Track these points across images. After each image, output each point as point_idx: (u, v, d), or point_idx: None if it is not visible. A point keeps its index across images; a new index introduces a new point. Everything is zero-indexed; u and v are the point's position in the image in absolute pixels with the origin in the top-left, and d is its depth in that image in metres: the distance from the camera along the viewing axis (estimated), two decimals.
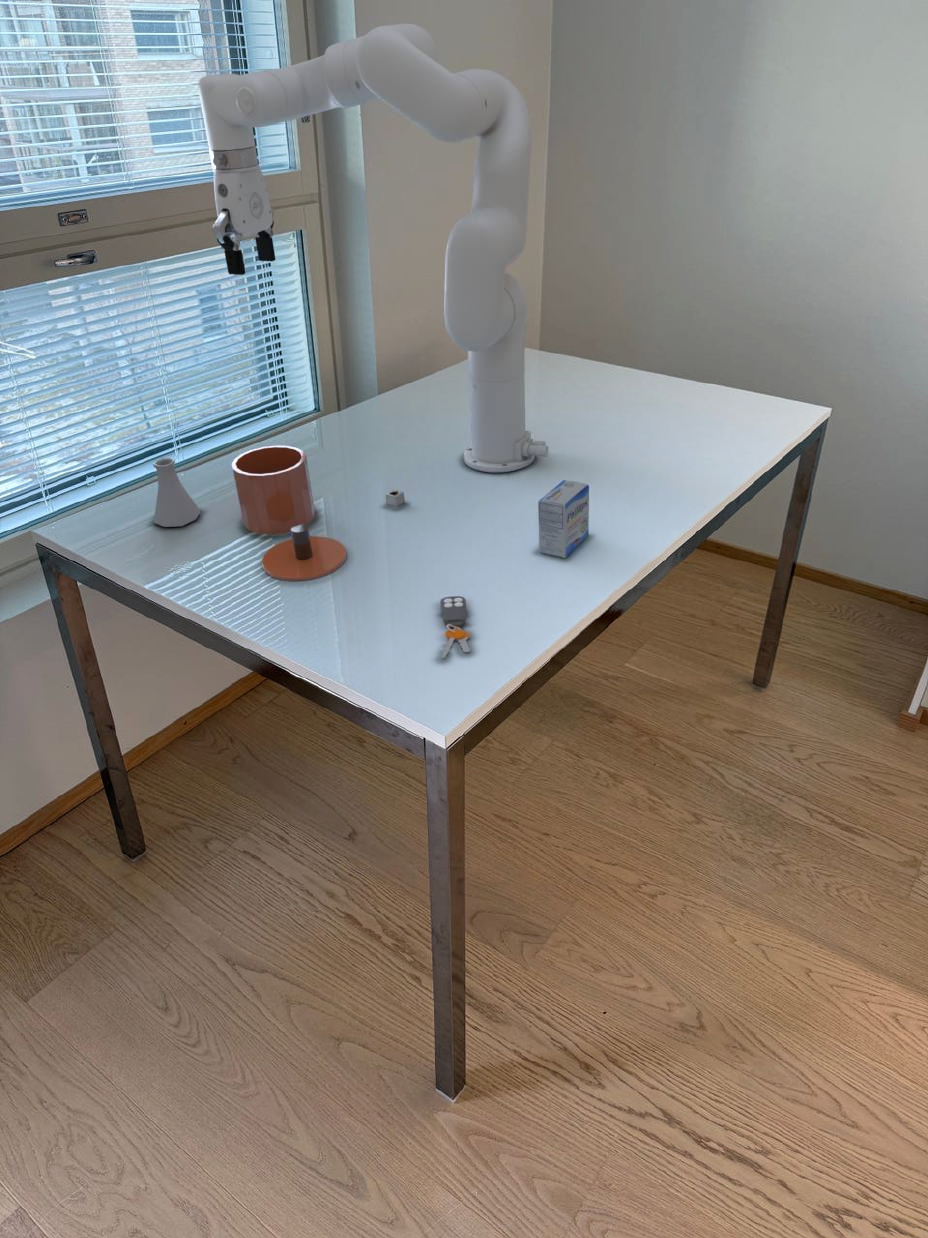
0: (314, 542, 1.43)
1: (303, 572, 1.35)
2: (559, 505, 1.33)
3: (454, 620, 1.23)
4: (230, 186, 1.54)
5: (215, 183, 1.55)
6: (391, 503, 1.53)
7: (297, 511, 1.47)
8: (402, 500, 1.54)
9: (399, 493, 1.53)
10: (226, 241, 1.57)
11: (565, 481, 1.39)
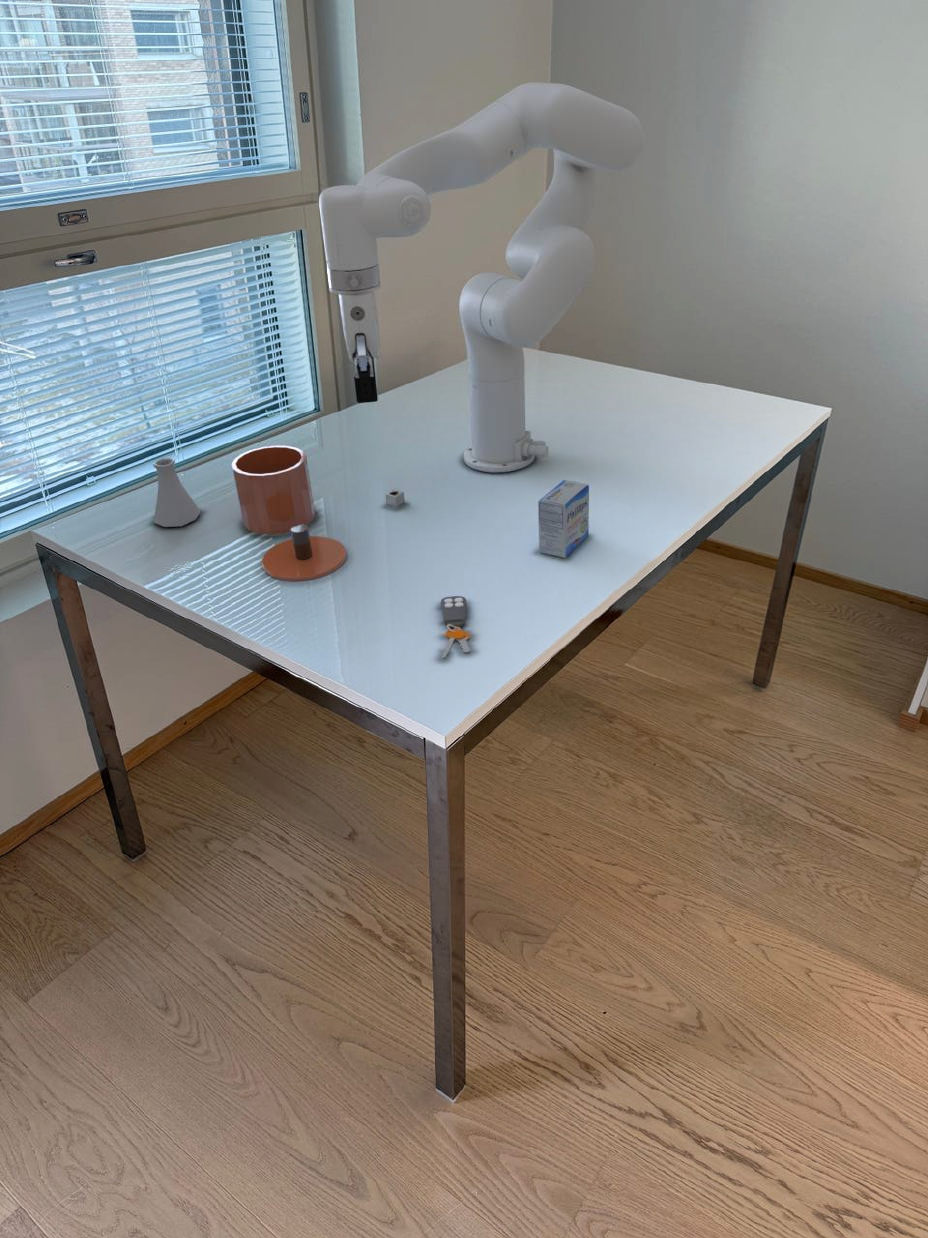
0: (314, 542, 1.43)
1: (303, 572, 1.35)
2: (559, 505, 1.33)
3: (454, 620, 1.23)
4: (368, 307, 1.37)
5: (347, 306, 1.37)
6: (391, 503, 1.53)
7: (297, 511, 1.47)
8: (402, 500, 1.54)
9: (399, 493, 1.53)
10: (369, 368, 1.39)
11: (565, 481, 1.39)
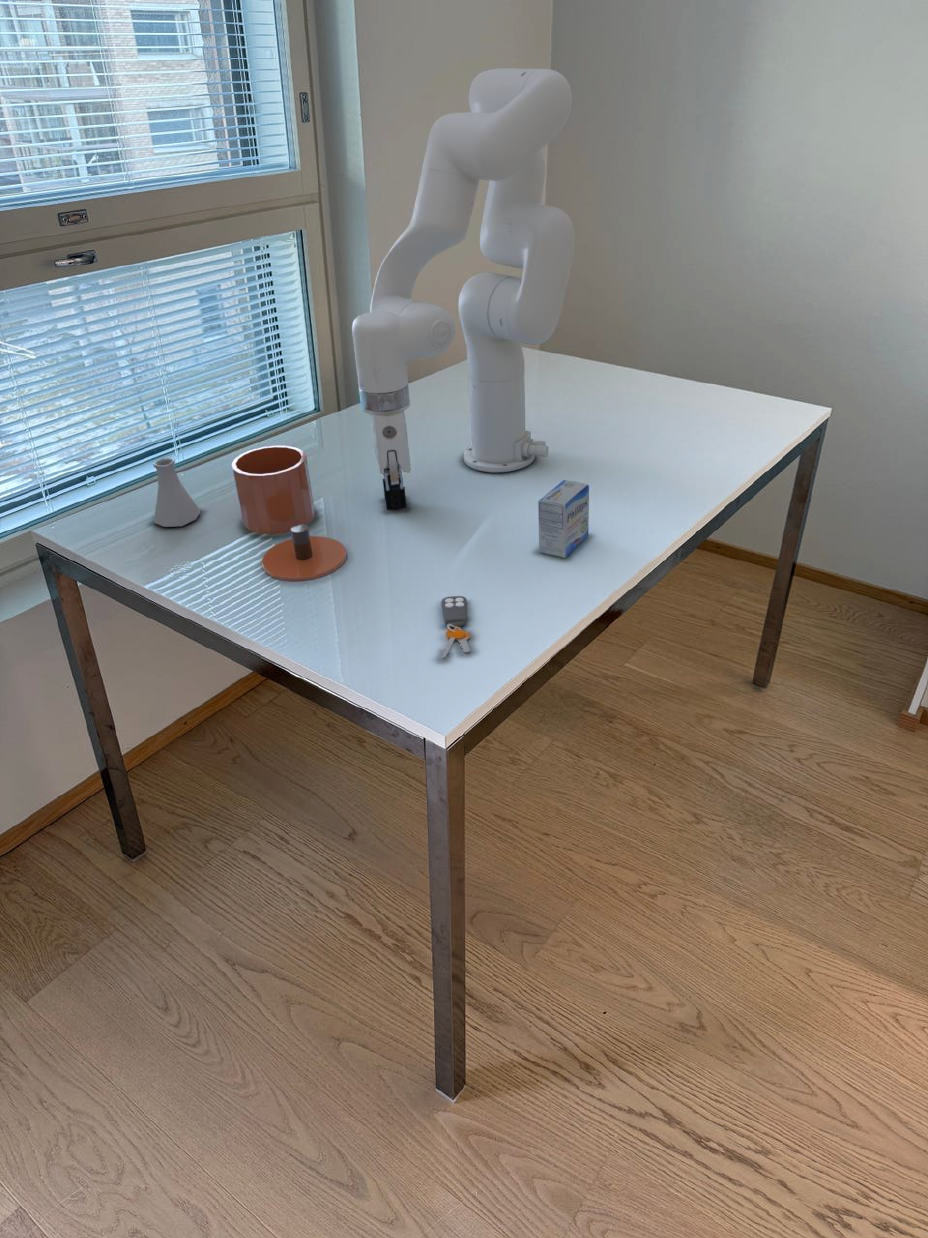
0: (314, 542, 1.43)
1: (303, 572, 1.35)
2: (559, 505, 1.33)
3: (455, 620, 1.23)
4: (399, 427, 1.43)
5: (379, 426, 1.42)
6: None
7: (297, 511, 1.47)
8: None
9: None
10: (400, 483, 1.48)
11: (565, 481, 1.39)
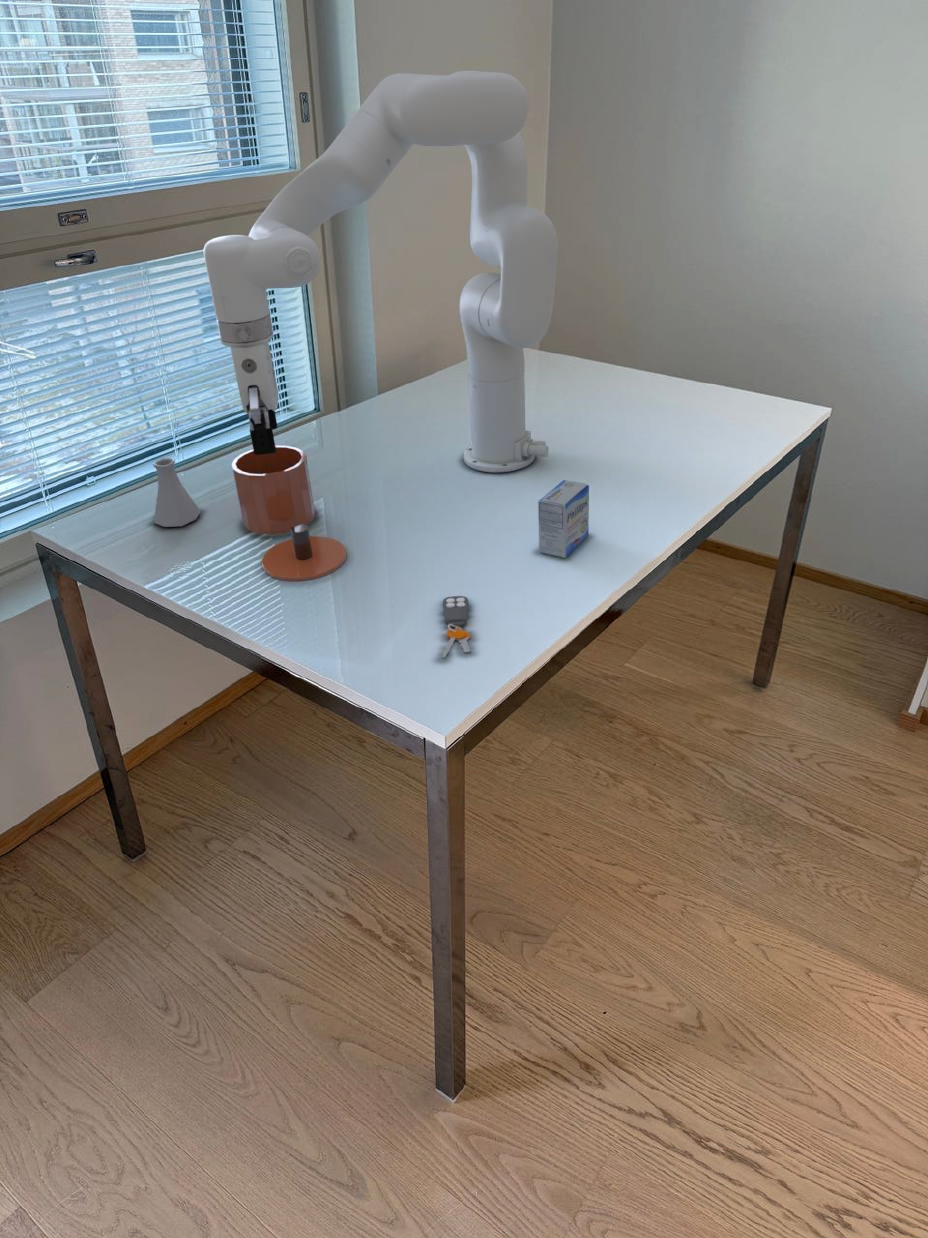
0: (314, 542, 1.43)
1: (303, 572, 1.35)
2: (559, 505, 1.33)
3: (456, 620, 1.23)
4: (260, 360, 1.34)
5: (237, 359, 1.33)
6: None
7: (297, 511, 1.47)
8: None
9: None
10: (263, 421, 1.36)
11: (565, 481, 1.39)
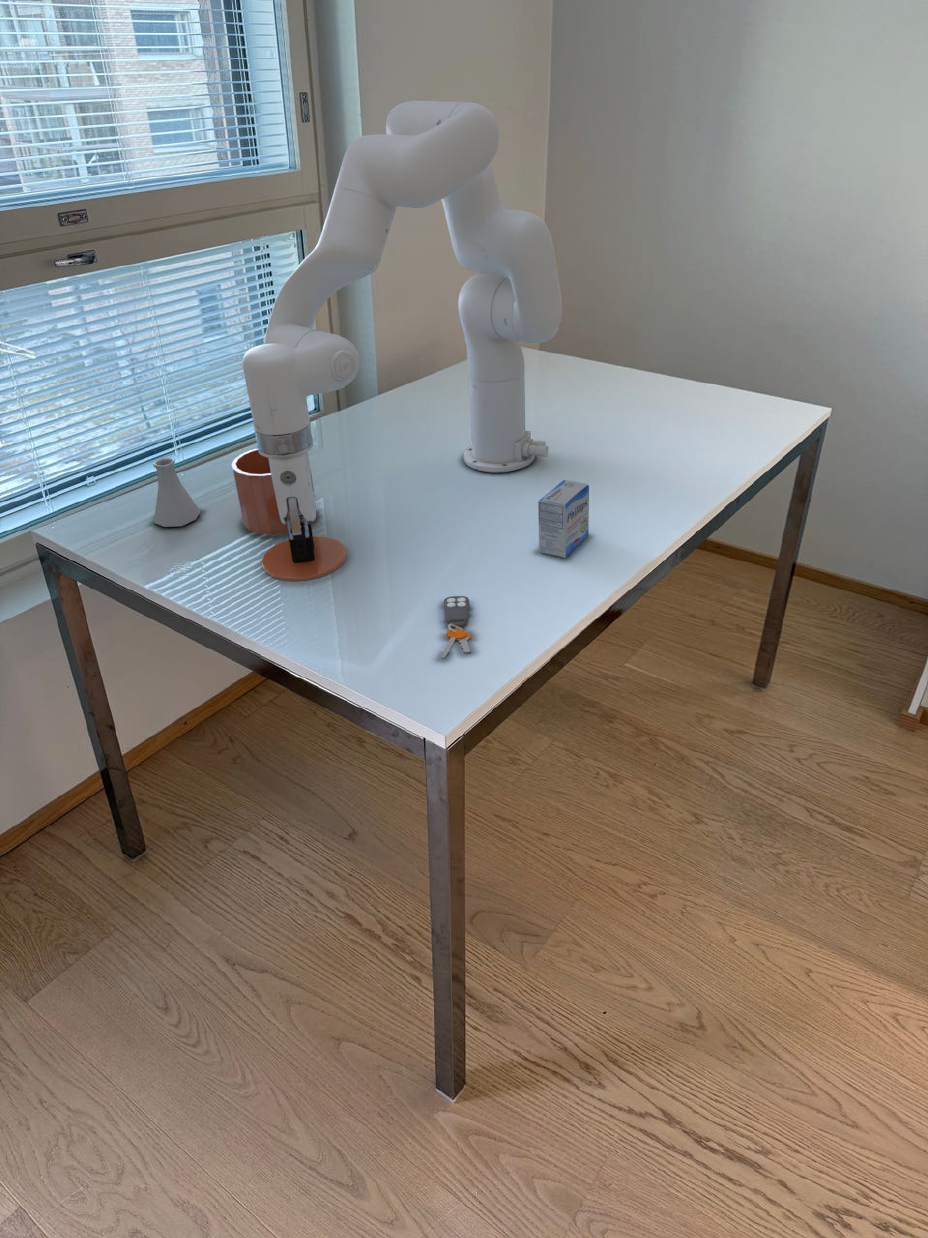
0: (314, 542, 1.43)
1: (303, 572, 1.35)
2: (559, 505, 1.33)
3: (456, 620, 1.23)
4: (299, 472, 1.27)
5: (276, 471, 1.27)
6: None
7: None
8: None
9: None
10: (303, 532, 1.33)
11: (565, 481, 1.39)
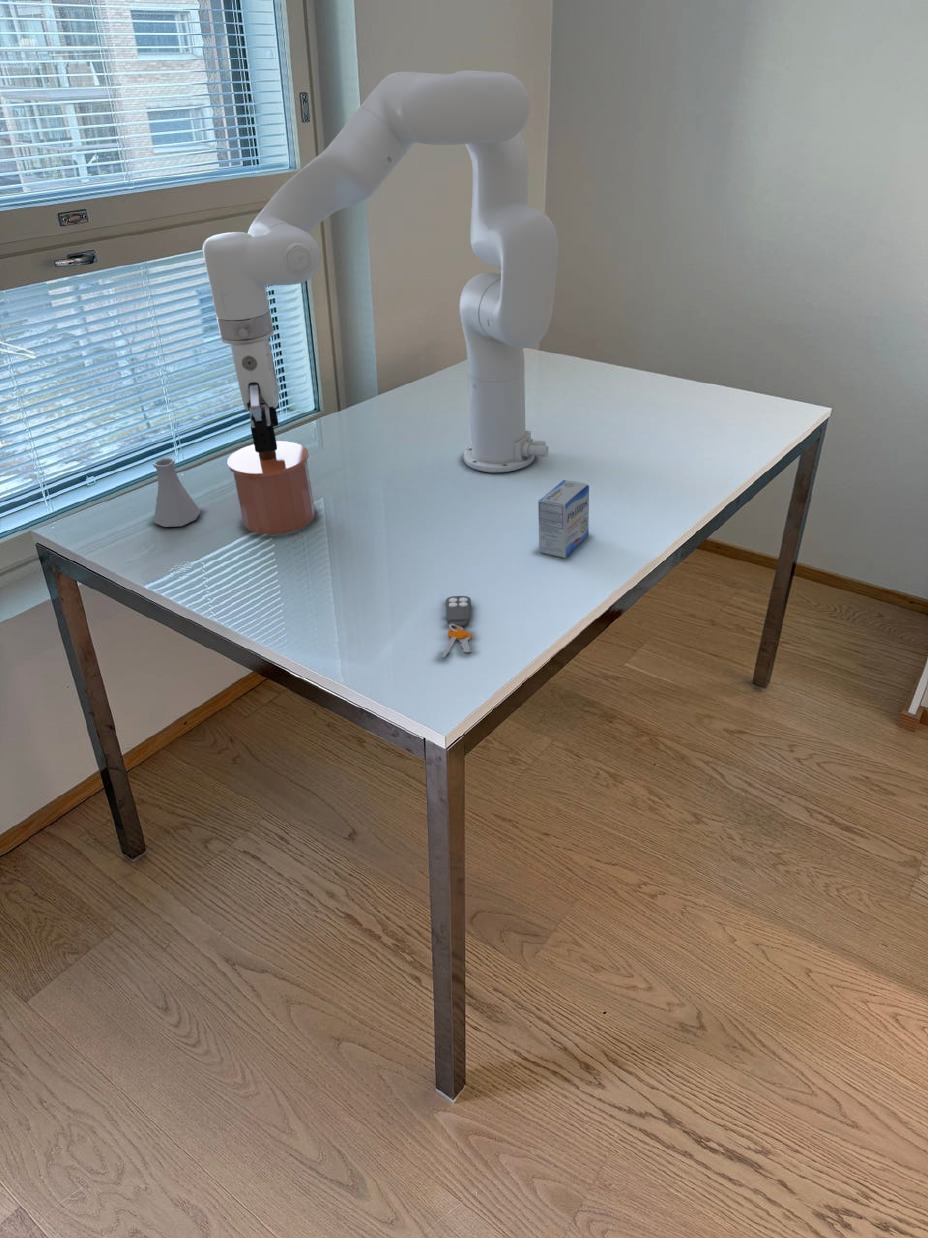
0: (278, 445, 1.50)
1: (265, 469, 1.42)
2: (559, 505, 1.33)
3: (457, 620, 1.23)
4: (260, 357, 1.33)
5: (238, 356, 1.33)
6: None
7: (297, 511, 1.47)
8: None
9: None
10: (264, 419, 1.35)
11: (565, 481, 1.39)
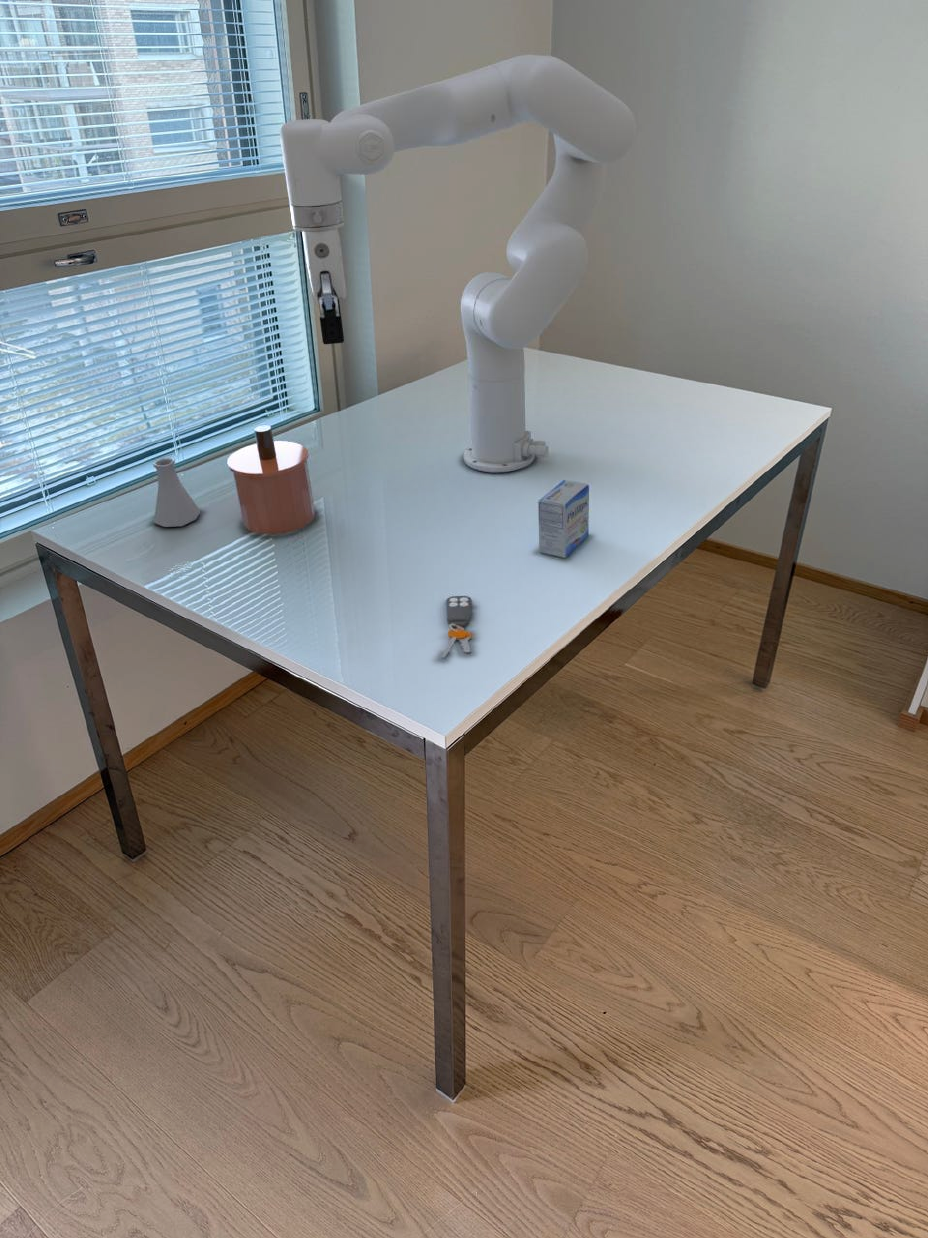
0: (278, 445, 1.50)
1: (265, 469, 1.42)
2: (559, 505, 1.33)
3: (458, 620, 1.23)
4: (332, 244, 1.35)
5: (310, 243, 1.35)
6: None
7: (297, 511, 1.47)
8: None
9: None
10: (334, 307, 1.37)
11: (565, 481, 1.39)
